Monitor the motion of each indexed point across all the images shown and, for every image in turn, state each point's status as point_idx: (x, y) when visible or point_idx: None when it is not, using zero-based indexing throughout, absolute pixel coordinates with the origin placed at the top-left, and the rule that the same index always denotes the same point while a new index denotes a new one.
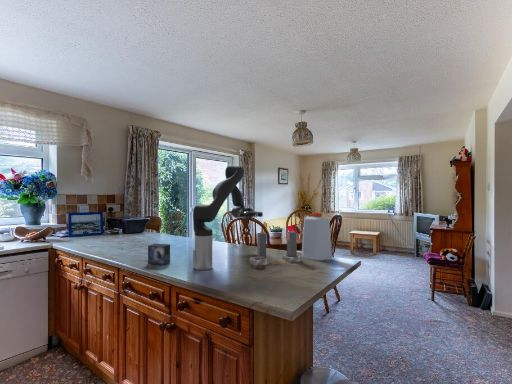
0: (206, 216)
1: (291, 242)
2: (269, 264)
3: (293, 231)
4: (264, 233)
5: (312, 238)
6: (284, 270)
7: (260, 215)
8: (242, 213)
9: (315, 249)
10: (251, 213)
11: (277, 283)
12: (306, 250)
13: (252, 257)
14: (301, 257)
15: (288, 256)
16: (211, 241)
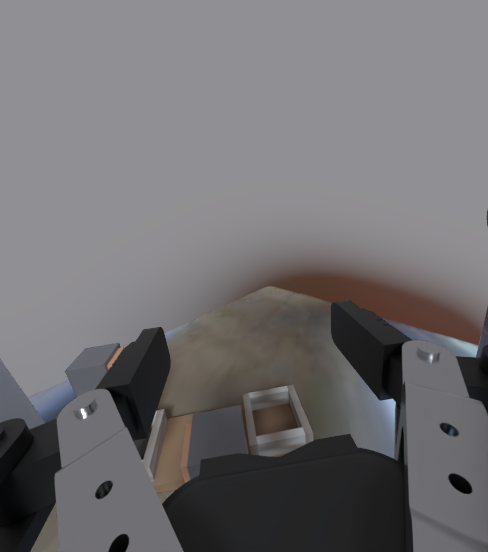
0: None
1: None
2: (243, 404)
3: (68, 368)
4: (203, 417)
5: (9, 391)
6: (215, 380)
7: (166, 351)
8: (481, 362)
9: (37, 413)
10: (267, 467)
11: (261, 325)
12: None
13: (300, 433)
14: None
15: (142, 440)
16: (484, 331)
